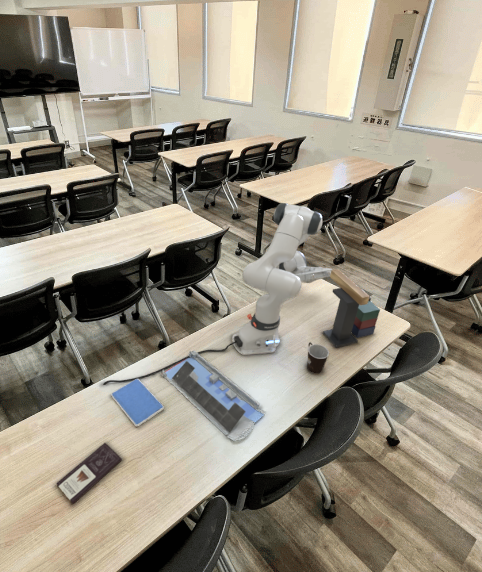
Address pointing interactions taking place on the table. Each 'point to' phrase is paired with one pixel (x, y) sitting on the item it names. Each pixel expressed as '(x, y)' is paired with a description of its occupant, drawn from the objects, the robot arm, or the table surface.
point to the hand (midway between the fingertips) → (321, 275)
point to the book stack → (365, 320)
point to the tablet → (137, 402)
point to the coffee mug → (316, 357)
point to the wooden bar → (349, 287)
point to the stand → (343, 320)
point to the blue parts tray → (215, 396)
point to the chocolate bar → (88, 473)
